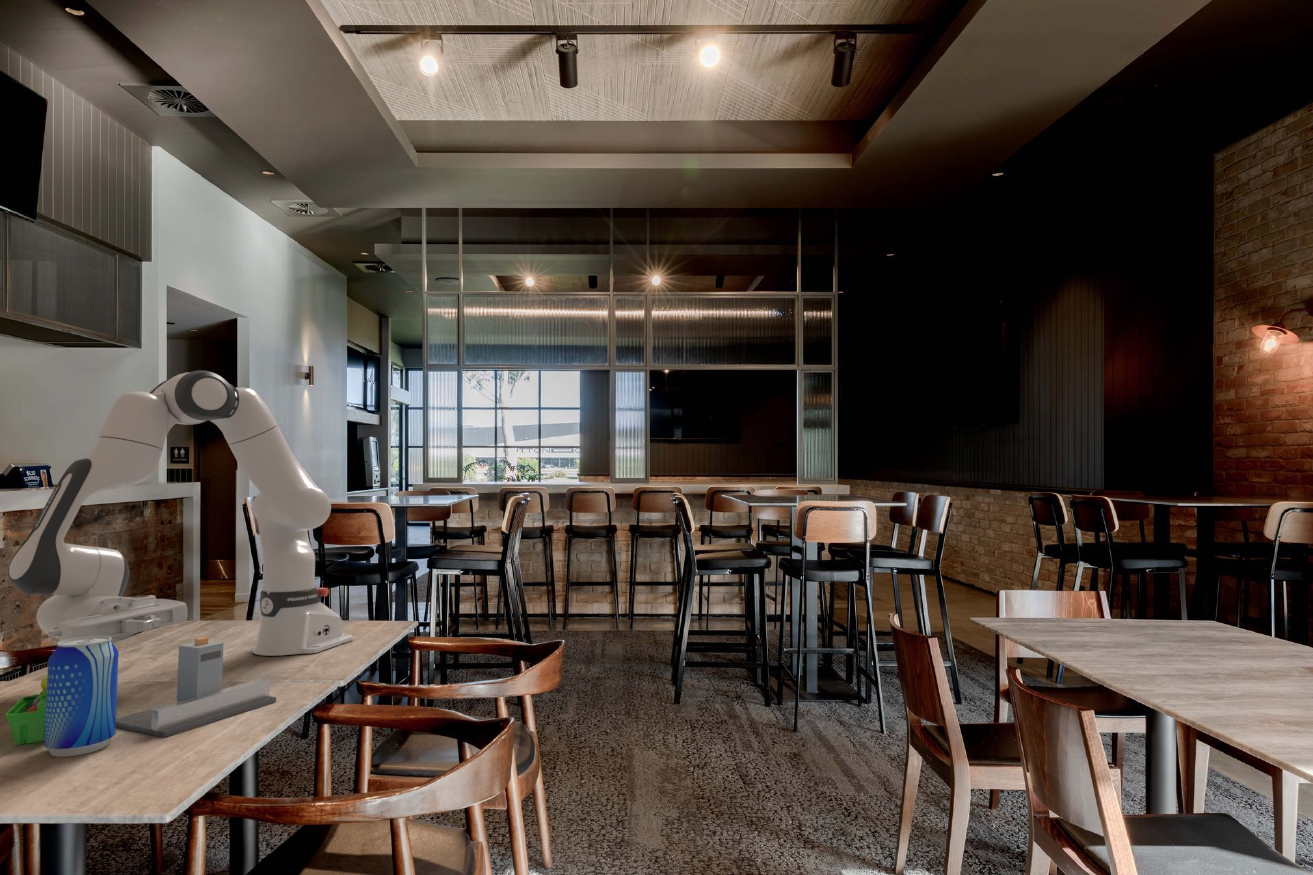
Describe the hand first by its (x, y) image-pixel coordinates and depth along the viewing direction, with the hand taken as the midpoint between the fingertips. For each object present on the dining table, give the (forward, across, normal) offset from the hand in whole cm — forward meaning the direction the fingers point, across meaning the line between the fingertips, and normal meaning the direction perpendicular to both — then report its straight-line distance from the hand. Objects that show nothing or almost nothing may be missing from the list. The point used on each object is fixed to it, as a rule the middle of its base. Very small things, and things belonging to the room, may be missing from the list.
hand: (152, 624), depth 134 cm
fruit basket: (+1, -17, +13) cm, 22 cm away
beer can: (+13, -19, +13) cm, 27 cm away
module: (+14, -1, +13) cm, 19 cm away
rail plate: (+13, -1, +14) cm, 19 cm away
